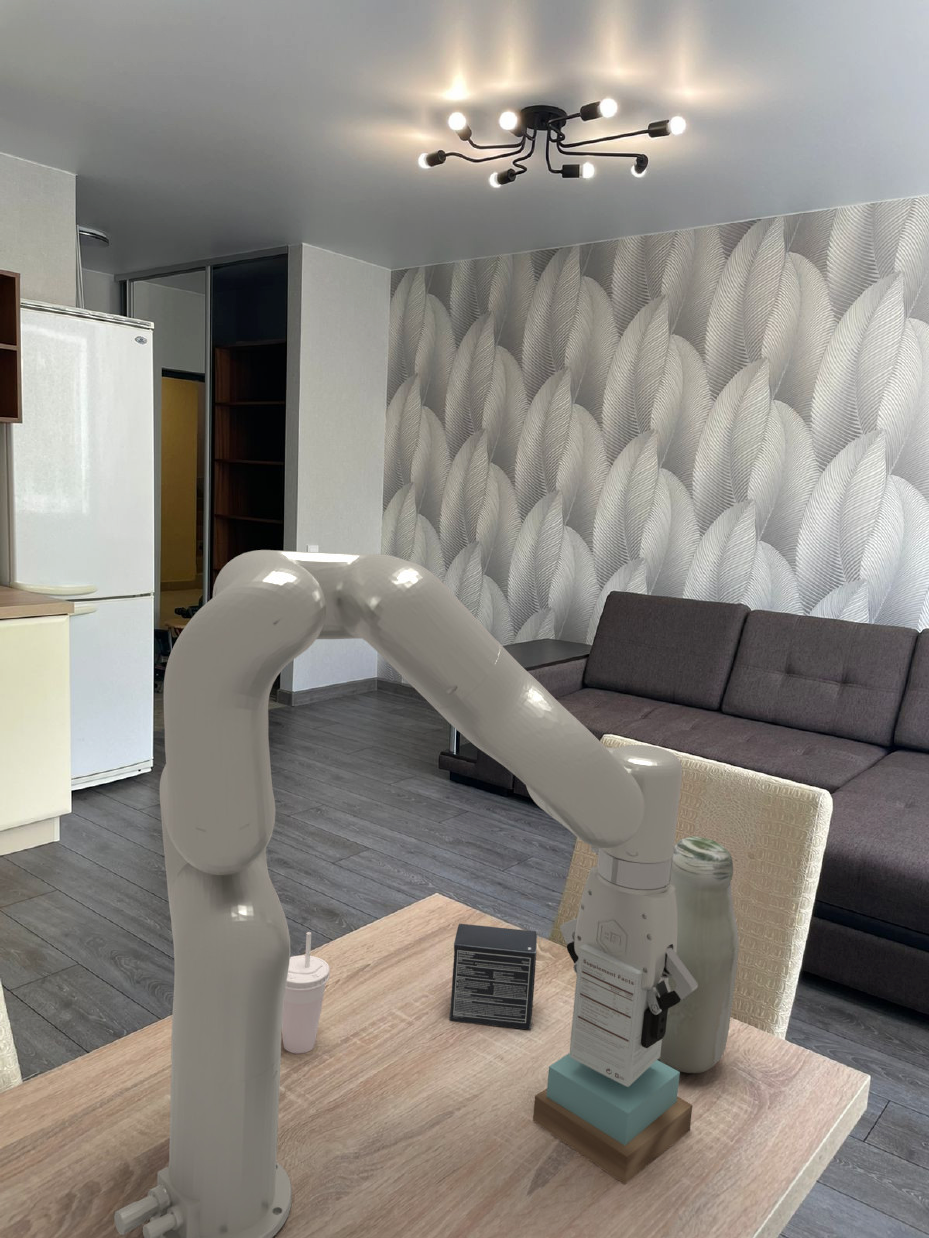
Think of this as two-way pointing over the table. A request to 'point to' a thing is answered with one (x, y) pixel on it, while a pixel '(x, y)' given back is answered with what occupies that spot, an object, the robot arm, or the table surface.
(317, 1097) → the table surface
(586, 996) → the supplement box
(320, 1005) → the smoothie
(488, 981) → the small box
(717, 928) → the glass bottle
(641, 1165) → the tower base
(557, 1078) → the tower top
